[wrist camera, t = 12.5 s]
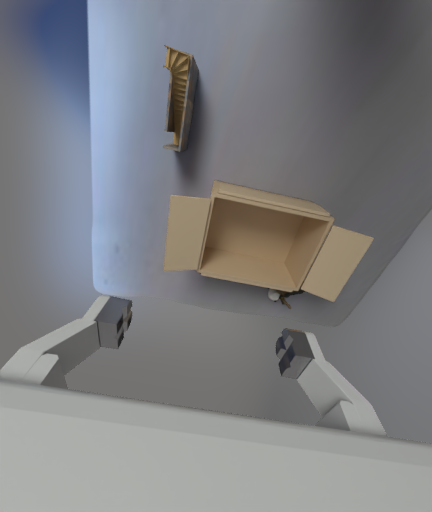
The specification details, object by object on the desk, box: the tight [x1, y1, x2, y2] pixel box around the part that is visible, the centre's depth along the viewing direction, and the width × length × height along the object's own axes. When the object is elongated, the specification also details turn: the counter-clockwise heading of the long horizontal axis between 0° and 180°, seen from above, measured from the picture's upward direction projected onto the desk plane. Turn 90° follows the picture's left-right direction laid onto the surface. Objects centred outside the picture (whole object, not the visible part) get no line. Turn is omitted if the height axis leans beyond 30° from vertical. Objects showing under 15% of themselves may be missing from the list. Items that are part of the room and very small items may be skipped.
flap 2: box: [301, 225, 374, 302], centre depth 36 cm, size 13×1×6 cm
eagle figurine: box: [268, 281, 305, 309], centre depth 50 cm, size 8×7×9 cm
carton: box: [196, 180, 335, 292], centre depth 41 cm, size 16×20×10 cm
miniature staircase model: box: [163, 45, 199, 152], centre depth 32 cm, size 11×3×10 cm, turn 167°
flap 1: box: [163, 195, 211, 271], centre depth 35 cm, size 13×1×6 cm
